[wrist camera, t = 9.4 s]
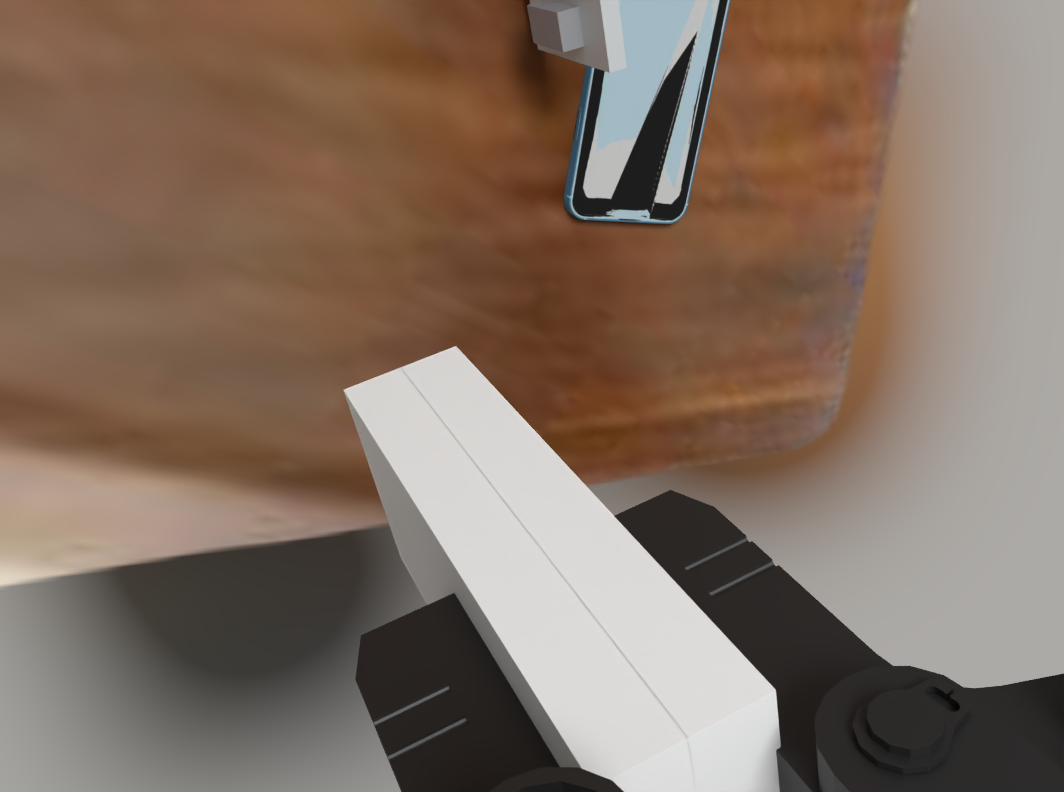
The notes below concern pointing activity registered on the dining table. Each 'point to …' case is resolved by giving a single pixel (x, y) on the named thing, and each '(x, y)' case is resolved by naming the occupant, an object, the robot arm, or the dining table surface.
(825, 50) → the dining table surface
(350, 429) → the dining table surface
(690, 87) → the smartphone
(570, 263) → the dining table surface
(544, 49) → the door
